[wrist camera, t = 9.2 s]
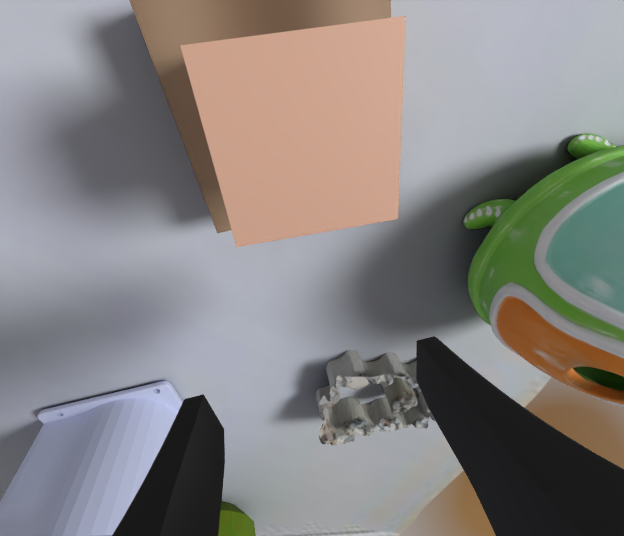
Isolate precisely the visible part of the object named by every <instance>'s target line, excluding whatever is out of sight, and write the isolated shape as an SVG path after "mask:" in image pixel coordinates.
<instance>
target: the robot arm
mask: <svg viewBox="0 0 624 536" xmlns="http://www.w3.org/2000/svg"><path fill="white" fill-rule="evenodd" d="M416 380H417V382H418V385H419V387H420V389H421V392H422V394H423V396H424V399H425V401H426V403H427V405H428V408H429V410H430V411H431V413H432V415H433V417H434V419H435V420H436V422H437V424H438V426H439V427H440V429H441V431H442V433H443V434H444V436H445V438H446V440H447V441H448V443H449V445H450V447H451V448H452V450H453V452H454V454H455V455H456V457H457V459H458V461H459V462H460V464H461V466H462V468H463V469H464V471H465V473H466V475H467V476H468V478H469V480H470V482H471V484H472V486H473V488H474V490H475V492H476V494H477V496H478V498H479V500H480V502H481V504H482V506H483V509H484V511H485V513H486V515H487V517H488V519H489V521H490V523H491V526H492V528H493V530H494V532H495V534H496V536H624V469H622V468H620V467H618V466H617V465H615V464H613V463H611V462H609V461H608V460H606V459H604V458H602V457H601V456H599V455H597V454H595V453H594V452H592V451H590V450H589V449H587V448H585V447H584V446H582V445H580V444H578V443H577V442H576V441H573V440H572V439H571V438H569V437H567V436H566V435H564V434H562V433H561V432H560V431H558V430H556V429H555V428H553V427H552V426H550V425H548V424H547V423H546V422H544V421H543V420H541V419H540V418H538V417H537V416H535V415H534V414H532V413H531V412H529V411H528V410H527V409H525V408H524V407H522V406H521V405H520V404H518V403H517V402H515V401H514V400H513V399H511V398H510V397H509V396H507V395H506V394H505V393H503V392H502V391H501V390H499V389H498V388H497V387H495V386H494V385H493V384H492V383H490V382H489V381H488V380H486V379H485V378H484V377H483V376H481V375H480V374H479V373H478V372H476V371H475V370H474V369H473V368H471V367H470V366H469V365H468V364H467V363H465V362H464V361H463V360H462V359H461V358H459V357H458V356H457V355H456V354H455V353H454V352H452V351H451V350H450V349H449V348H448V347H447V346H446V345H444V344H443V343H442V342H441V341H440V340H439V339H438V338H436V337H435V336H434V337H430V338H426V339H422V340H418V341H417V361H416ZM37 418H38V419H39V420H40V421H41V422H42V423H43V426H42V428H41V430H40V431H39V433H38V435H37V437H36V438H35V440H34V442H33V444H32V446H31V447H30V449H29V451H28V453H27V454H26V456H25V458H24V460H23V462H22V463H21V465H20V467H19V469H18V470H17V472H16V474H15V476H14V477H13V479H12V481H11V483H10V485H9V486H8V488H7V490H6V492H5V493H4V495H3V497H2V499H1V501H0V536H218V533H219V522H220V511H221V500H222V488H223V477H224V464H225V452H224V428H223V427H222V425H221V423H220V422H219V420H218V418H217V416H216V415H215V413H214V411H213V410H212V408H211V406H210V405H209V403H208V401H207V399H206V398H205V396H204V395H200V396H196V397H192V398H188V399H185V400H184V401H183V402H182V400H181V399H180V397H179V396H178V394H177V392H176V391H175V389H174V388H173V386H172V385H171V384H170V383H169V382H167V381H161V382H157V383H153V384H149V385H145V386H140V387H136V388H132V389H128V390H124V391H119V392H115V393H111V394H107V395H103V396H98V397H94V398H90V399H86V400H82V401H77V402H73V403H69V404H65V405H61V406H56V407H52V408H48V409H44V410H41V411H40V412H39V414H38V416H37Z"/></svg>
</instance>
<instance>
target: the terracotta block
mask: <svg viewBox="0 0 624 536" xmlns="http://www.w3.org/2000/svg"><path fill="white" fill-rule="evenodd" d="M405 23H406V16H401V17H393V18H386V19H378V20H370V21H363V22H355V23H347V24H340V25H332V26H325V27H317V28H309V29H302V30H294V31H286V32H279V33H271V34H263V35H256V36H248V37H241V38H233V39H225V40H218V41H210V42H202V43H195V44H187V45H180V47H181V50H182V54H183V57H184V61H185V64H186V68H187V72H188V75H189V79H190V82H191V86H192V89H193V93H194V97H195V100H196V104H197V107H198V111H199V114H200V118H201V122H202V125H203V129H204V132H205V136H206V140H207V143H208V147H209V150H210V154H211V157H212V161H213V165H214V168H215V172H216V175H217V179H218V182H219V186H220V190H221V193H222V197H223V200H224V204H225V208H226V211H227V215H228V218H229V222H230V225H231V229H232V233H233V236H234V240H235V243H236V247H240V246H246V245H252V244H257V243H263V242H269V241H275V240H280V239H286V238H292V237H298V236H303V235H309V234H315V233H321V232H326V231H332V230H338V229H344V228H349V227H355V226H361V225H367V224H373V223H378V222H384V221H390V220H396V219H398V206H399V180H400V154H401V128H402V102H403V75H404V49H405Z"/></svg>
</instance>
